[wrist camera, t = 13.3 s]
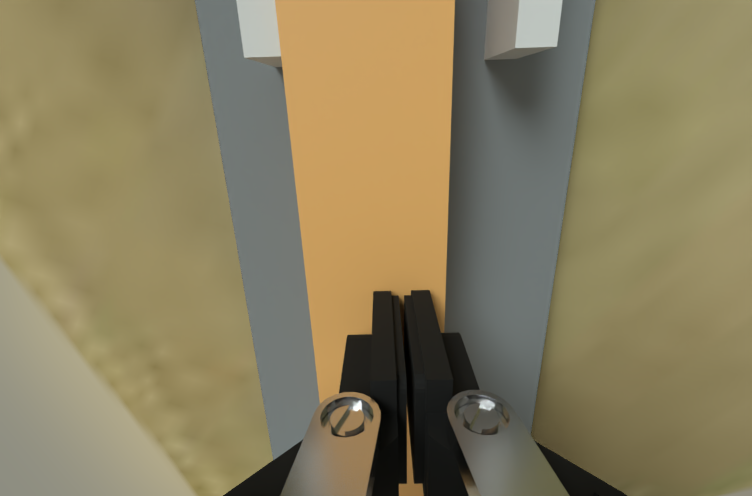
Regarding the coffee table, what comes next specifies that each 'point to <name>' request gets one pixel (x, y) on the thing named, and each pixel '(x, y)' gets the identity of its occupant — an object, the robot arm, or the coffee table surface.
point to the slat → (368, 161)
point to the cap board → (466, 190)
